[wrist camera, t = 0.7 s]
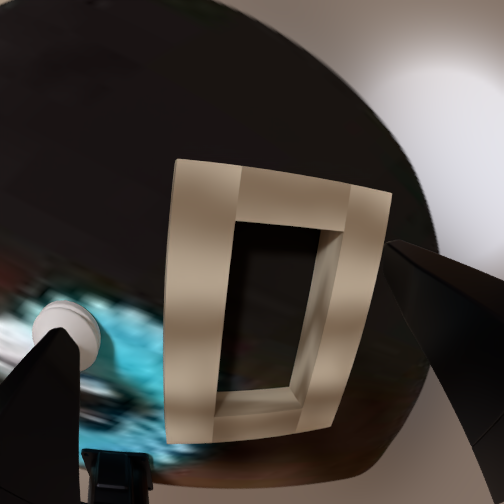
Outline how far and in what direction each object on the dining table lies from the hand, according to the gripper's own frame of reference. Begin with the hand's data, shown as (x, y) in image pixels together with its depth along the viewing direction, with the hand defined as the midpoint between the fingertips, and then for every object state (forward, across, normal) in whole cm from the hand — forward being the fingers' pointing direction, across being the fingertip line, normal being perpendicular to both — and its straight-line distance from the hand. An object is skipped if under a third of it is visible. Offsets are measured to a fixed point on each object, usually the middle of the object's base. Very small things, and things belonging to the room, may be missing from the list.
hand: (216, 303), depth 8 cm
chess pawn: (+9, +13, +7) cm, 17 cm away
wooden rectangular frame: (+11, -1, +11) cm, 15 cm away
